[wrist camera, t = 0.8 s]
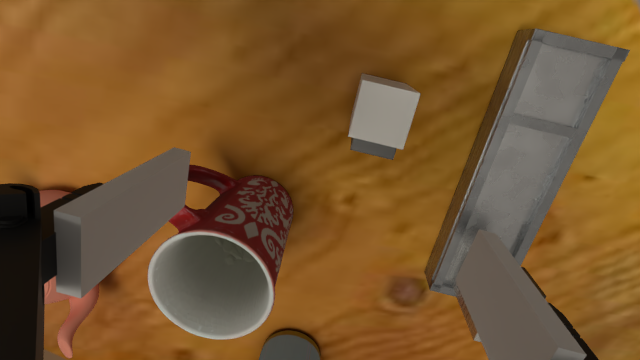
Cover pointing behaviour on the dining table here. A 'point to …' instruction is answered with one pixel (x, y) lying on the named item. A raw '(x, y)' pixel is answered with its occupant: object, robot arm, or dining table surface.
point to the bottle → (289, 347)
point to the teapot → (78, 305)
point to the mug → (223, 257)
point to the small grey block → (381, 116)
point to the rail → (523, 149)
